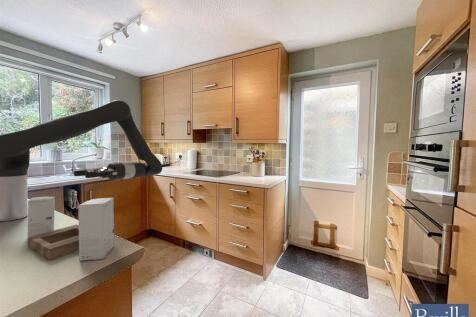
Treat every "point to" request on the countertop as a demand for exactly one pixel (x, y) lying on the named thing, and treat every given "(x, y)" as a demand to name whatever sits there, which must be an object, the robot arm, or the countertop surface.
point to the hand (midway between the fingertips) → (79, 174)
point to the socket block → (55, 242)
